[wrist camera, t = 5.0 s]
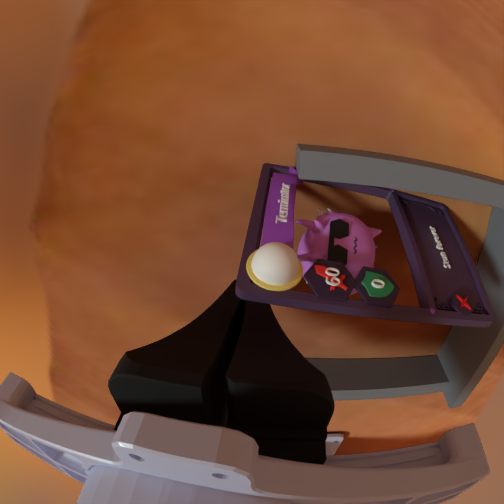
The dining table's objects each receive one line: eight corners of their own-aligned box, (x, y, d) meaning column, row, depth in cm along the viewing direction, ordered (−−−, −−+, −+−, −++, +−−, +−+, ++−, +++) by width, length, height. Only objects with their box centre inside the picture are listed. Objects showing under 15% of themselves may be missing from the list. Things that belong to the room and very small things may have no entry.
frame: (442, 363, 16) (460, 406, 13) (277, 367, 17) (274, 420, 14) (509, 182, 11) (556, 207, 7) (296, 143, 11) (303, 155, 8)
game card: (509, 309, 7) (235, 270, 7) (432, 375, 10) (229, 358, 11) (451, 191, 11) (265, 146, 12) (409, 265, 15) (253, 238, 15)
